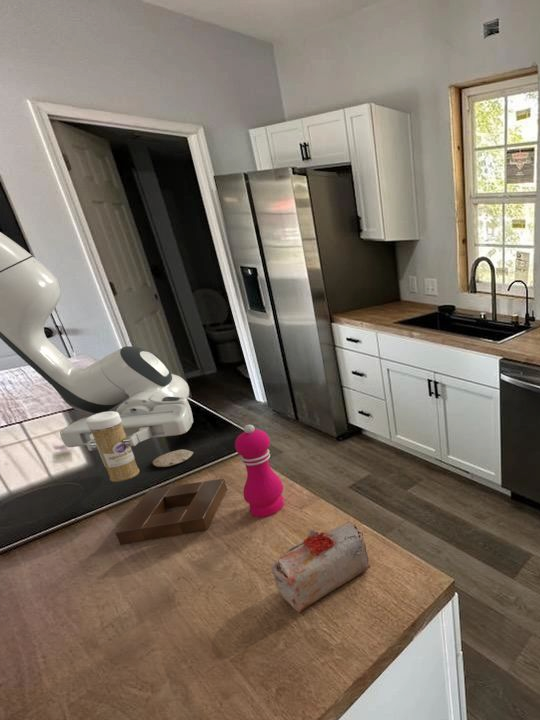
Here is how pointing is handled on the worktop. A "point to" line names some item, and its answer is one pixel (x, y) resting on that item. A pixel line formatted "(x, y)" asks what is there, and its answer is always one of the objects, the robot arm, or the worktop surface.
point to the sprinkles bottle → (113, 445)
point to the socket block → (157, 524)
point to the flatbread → (172, 458)
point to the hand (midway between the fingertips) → (110, 445)
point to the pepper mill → (259, 473)
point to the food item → (320, 565)
